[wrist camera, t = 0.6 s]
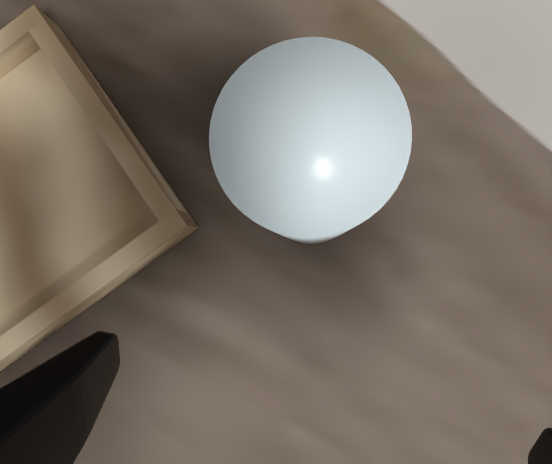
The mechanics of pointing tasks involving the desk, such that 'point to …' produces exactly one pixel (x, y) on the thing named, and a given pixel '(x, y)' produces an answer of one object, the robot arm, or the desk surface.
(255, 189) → the white rounded cylinder
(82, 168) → the tray
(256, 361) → the desk surface
